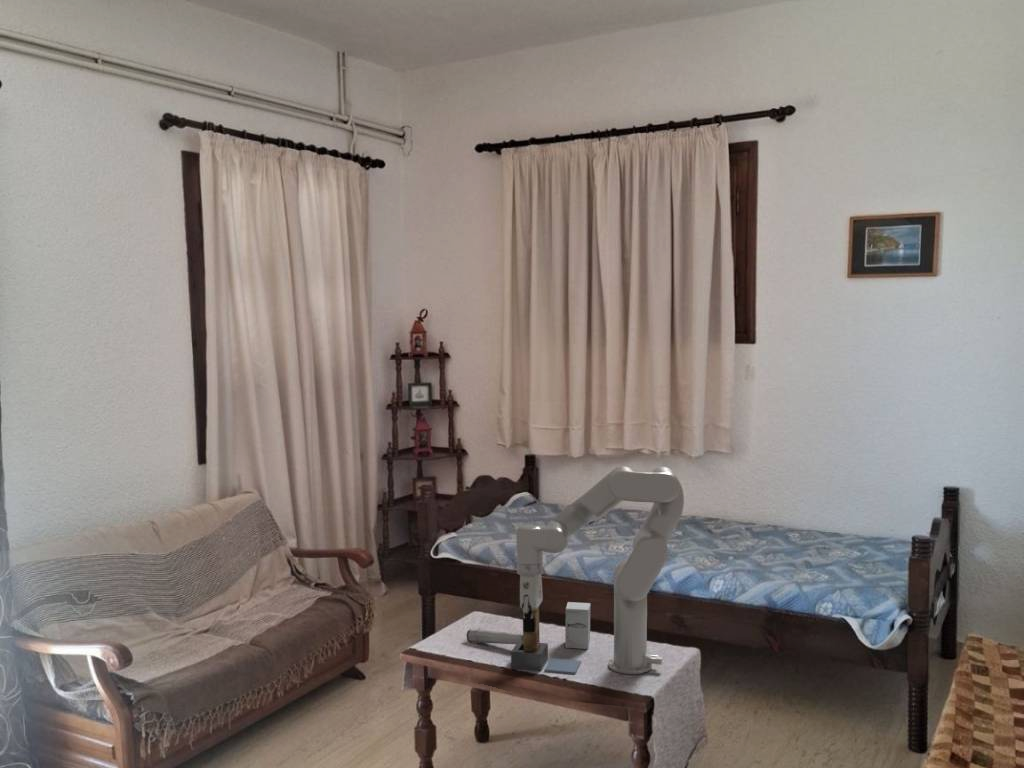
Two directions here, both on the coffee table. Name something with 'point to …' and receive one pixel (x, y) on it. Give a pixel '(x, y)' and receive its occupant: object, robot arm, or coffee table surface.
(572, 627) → the supplement box
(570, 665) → the rubber mat
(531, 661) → the block
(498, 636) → the grey wand device
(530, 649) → the key peg
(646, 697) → the coffee table surface
